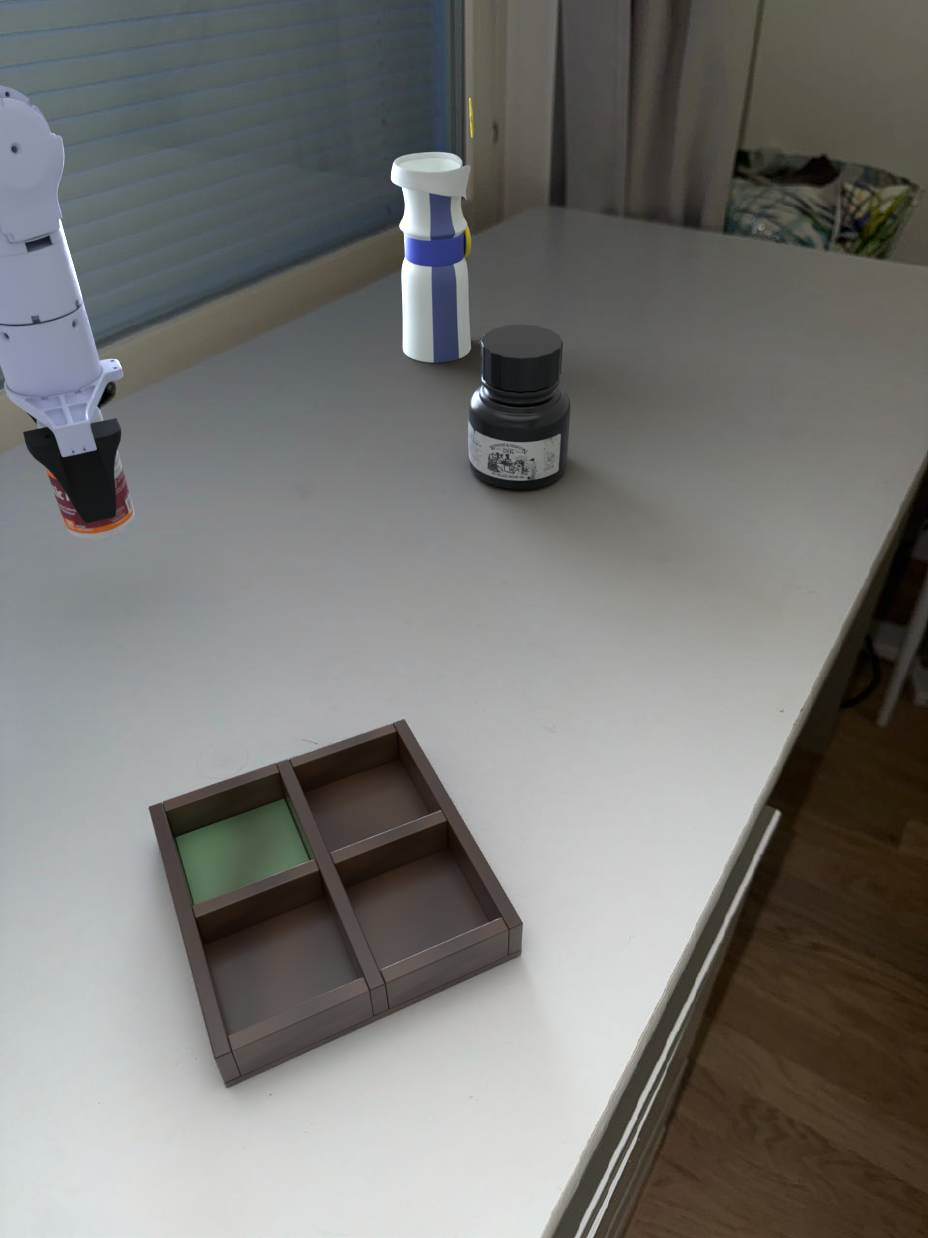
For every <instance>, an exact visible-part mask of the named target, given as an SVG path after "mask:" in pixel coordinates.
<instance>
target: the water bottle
mask: <svg viewBox="0 0 928 1238" xmlns="http://www.w3.org/2000/svg"><path fill="white" fill-rule="evenodd" d="M468 102H469V121H470V137H471V139H473V138H474V133H475V128H474V111H473V105H472V97H469V99H468ZM463 163H464V162H463V160H462V159H461V157H460V156H458V155H456V154H454V153H451V152H443V151H429V152H428V151H427V152H416V153H415V152H414V153H410V154H404V155H402V156H399V157H397V158H396V159H395V160H394V161H393V162H392V166H391V167H392V168H391V172H390V180H391V182H392V183H393V184H394V185H395V186H398V187H400V188H401V189H402V193H403V200H404V213H403V217H402V219H401V221H400V223H399V229H400V230H401V231H402V233H403V239H404V240H403V241H404V242H403V243H404V259H403V262H402V267H401V294H402V296H401V297H402V298H401V299H402V352H403V353H404V355H406V357H407V358H408V357H409V358H411V359H412V360H415V361H417V362H418V361H419V362H422V363H433V364H434V363H437V364H438V363H446V362H447V363H448V362H452V361H457V360H459V359H461V358H464V357H465V356H467V355H468V354H469V353H470V352H471V349H472V342H471V339H472V338H471V325H470V323H471V321H470V305H469V304H470V302H469V301H470V300H469V297H470V296H469V269H468V268H469V267H468V263H467V260H466V258H468V257H470V256H471V255H470V254H471V252H472V236H471V231H470V228H469V225H468V222H467V220H466V218H465V217H464V213H463V210H462V198H464V199H465V201H468V198H467V187H468V183H469V177H470V173H471V169H472V167H471V166H470V164H466V165H464V164H463ZM463 165H464V166H463Z"/></svg>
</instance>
